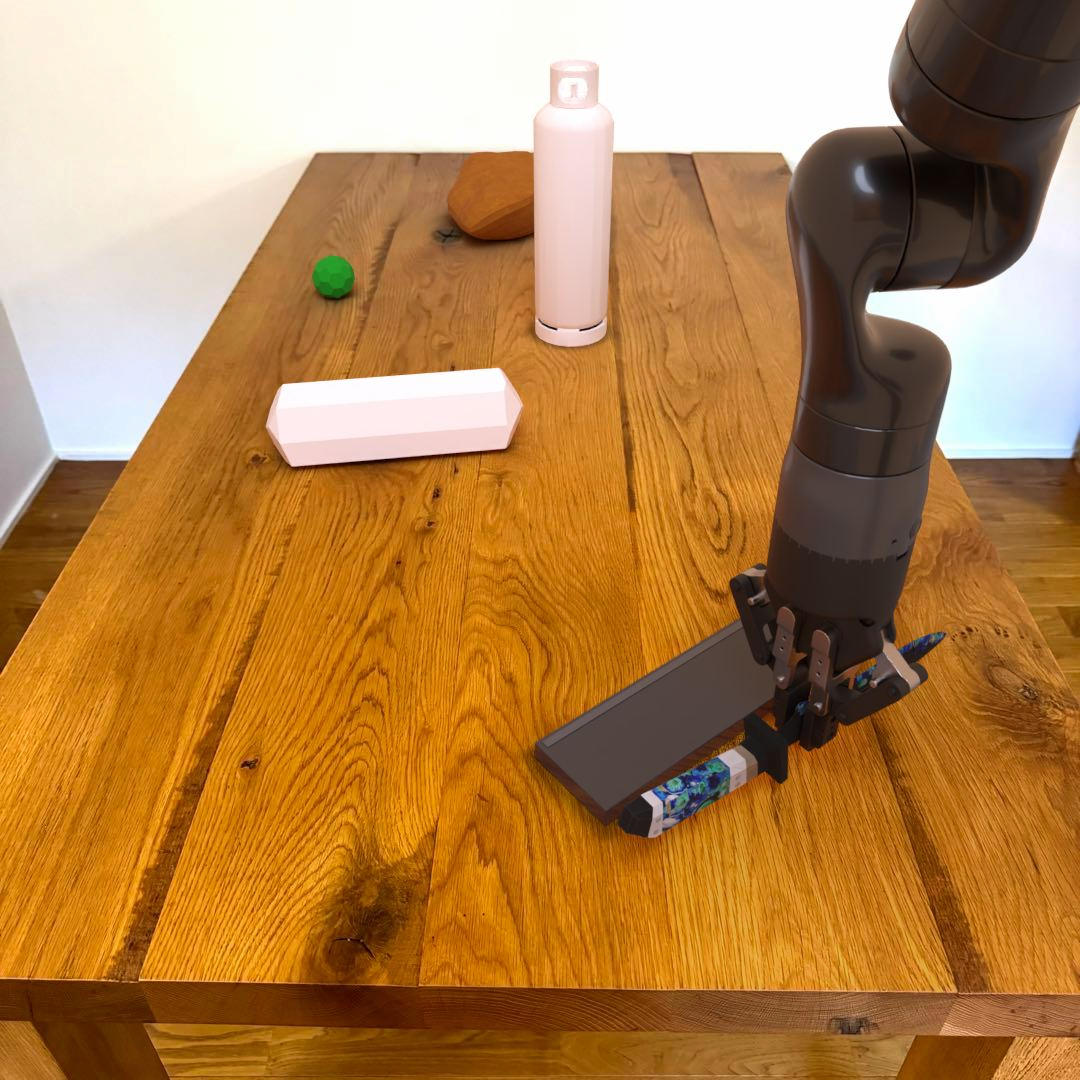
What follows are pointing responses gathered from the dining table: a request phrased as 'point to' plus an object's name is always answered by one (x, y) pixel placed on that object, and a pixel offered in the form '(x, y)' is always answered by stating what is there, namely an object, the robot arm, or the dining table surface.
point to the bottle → (572, 209)
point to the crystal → (393, 416)
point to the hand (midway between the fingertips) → (801, 733)
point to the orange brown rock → (494, 195)
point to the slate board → (660, 723)
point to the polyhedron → (333, 276)
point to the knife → (736, 763)
